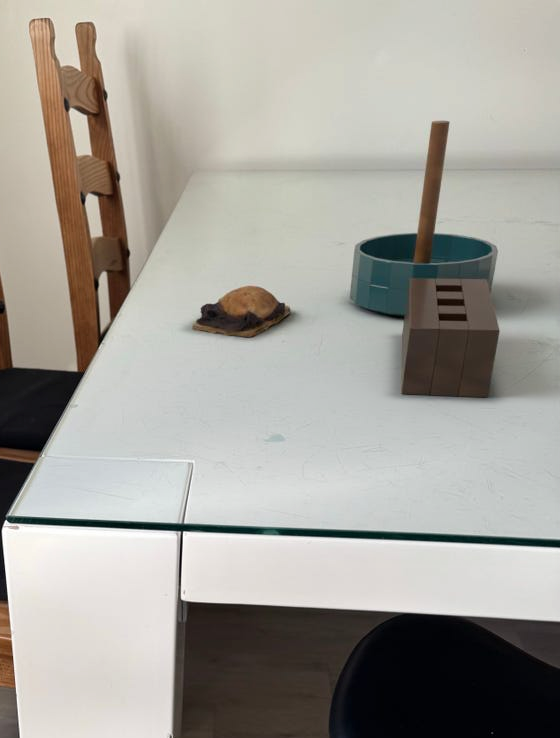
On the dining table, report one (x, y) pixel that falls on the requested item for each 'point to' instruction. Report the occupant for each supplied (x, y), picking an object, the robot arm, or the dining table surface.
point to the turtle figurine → (242, 312)
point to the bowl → (414, 267)
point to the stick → (431, 191)
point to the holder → (448, 338)
